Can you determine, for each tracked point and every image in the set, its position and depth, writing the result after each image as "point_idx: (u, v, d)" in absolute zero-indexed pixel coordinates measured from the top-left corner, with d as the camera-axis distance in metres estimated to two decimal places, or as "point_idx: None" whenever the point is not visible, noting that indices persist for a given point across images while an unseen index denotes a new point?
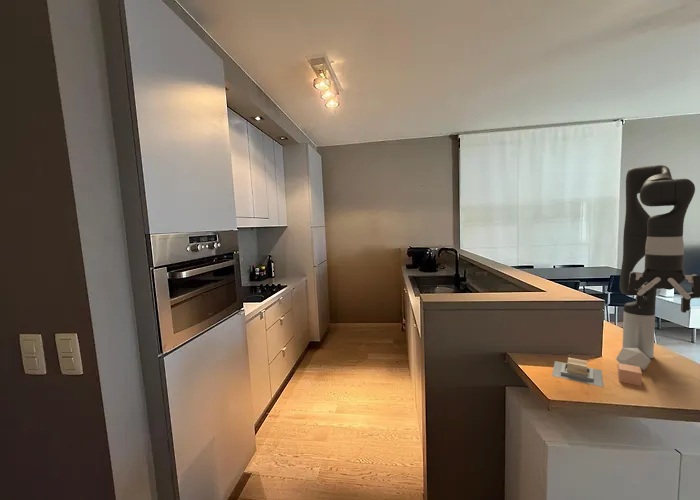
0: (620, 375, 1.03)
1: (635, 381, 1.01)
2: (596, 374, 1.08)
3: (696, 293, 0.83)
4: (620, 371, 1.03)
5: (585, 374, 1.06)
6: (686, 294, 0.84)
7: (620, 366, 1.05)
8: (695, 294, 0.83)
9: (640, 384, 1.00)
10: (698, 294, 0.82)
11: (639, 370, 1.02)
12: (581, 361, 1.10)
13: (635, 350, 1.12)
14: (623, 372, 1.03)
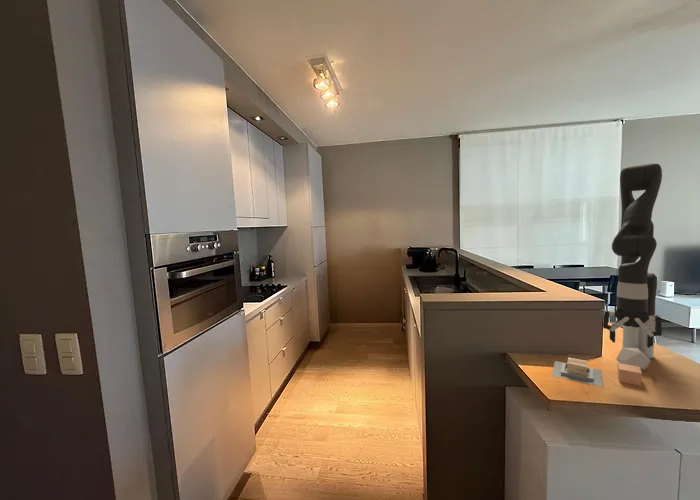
0: (620, 375, 1.03)
1: (635, 381, 1.01)
2: (596, 374, 1.08)
3: (658, 332, 0.98)
4: (620, 371, 1.03)
5: (585, 374, 1.06)
6: (650, 332, 0.99)
7: (620, 366, 1.05)
8: (657, 332, 0.98)
9: (640, 384, 1.00)
10: (659, 333, 0.98)
11: (639, 370, 1.02)
12: (581, 361, 1.10)
13: (635, 350, 1.12)
14: (623, 372, 1.03)
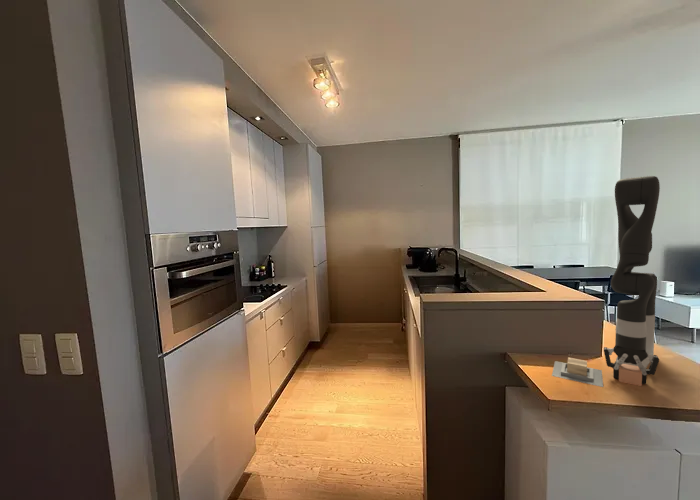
0: (620, 375, 1.03)
1: (635, 381, 1.01)
2: (596, 374, 1.08)
3: (651, 371, 0.99)
4: (620, 371, 1.03)
5: (585, 374, 1.06)
6: (643, 371, 1.01)
7: (620, 366, 1.05)
8: (650, 372, 1.00)
9: (640, 384, 1.00)
10: (653, 372, 0.99)
11: (639, 370, 1.02)
12: (581, 361, 1.10)
13: None
14: (623, 372, 1.02)
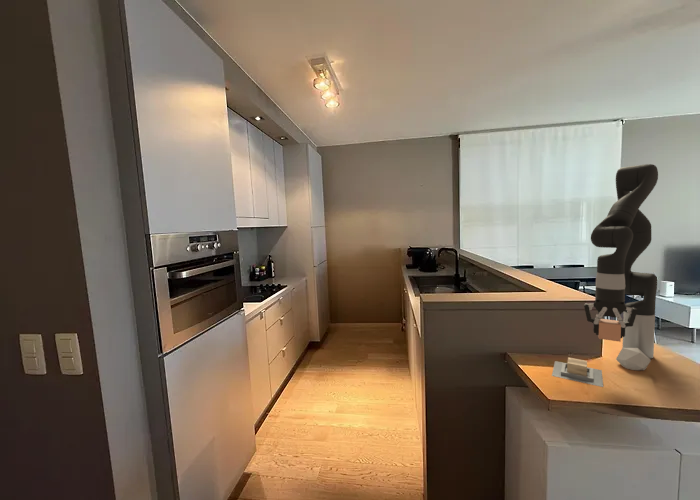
0: (600, 328, 1.04)
1: (615, 333, 1.02)
2: (596, 374, 1.08)
3: (629, 323, 1.01)
4: (600, 324, 1.04)
5: (585, 374, 1.06)
6: (622, 323, 1.02)
7: (600, 320, 1.06)
8: (628, 323, 1.01)
9: (619, 336, 1.01)
10: (631, 324, 1.00)
11: (618, 323, 1.03)
12: (581, 361, 1.10)
13: (635, 350, 1.12)
14: (603, 325, 1.03)
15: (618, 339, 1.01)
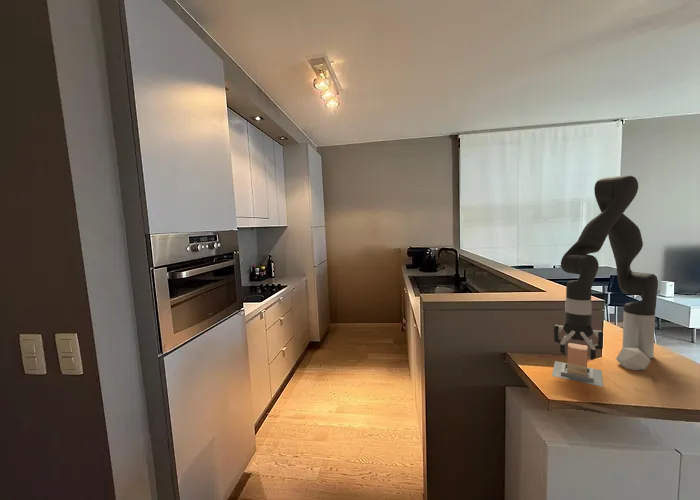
0: (568, 353, 1.09)
1: (582, 359, 1.07)
2: (596, 374, 1.08)
3: (599, 345, 1.05)
4: (568, 350, 1.09)
5: (585, 374, 1.06)
6: (592, 346, 1.06)
7: (569, 345, 1.11)
8: (598, 346, 1.05)
9: (586, 361, 1.06)
10: (601, 346, 1.04)
11: (586, 348, 1.07)
12: None
13: (635, 350, 1.12)
14: (571, 350, 1.08)
15: (585, 364, 1.06)
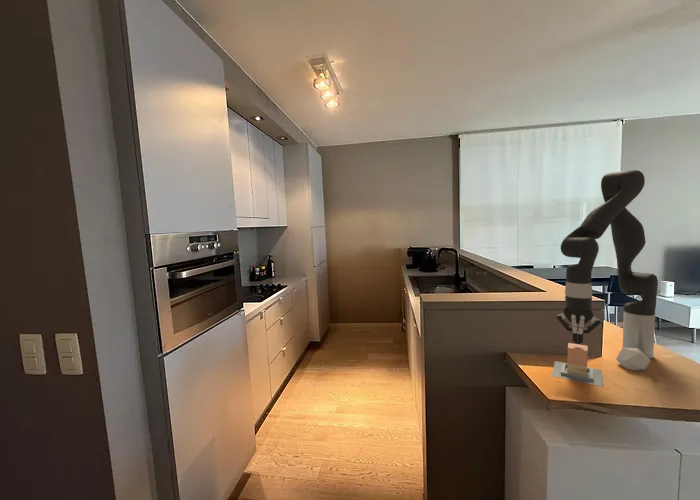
0: (568, 353, 1.09)
1: (582, 359, 1.07)
2: (596, 374, 1.08)
3: (586, 330, 1.06)
4: (568, 350, 1.09)
5: (585, 374, 1.06)
6: (579, 330, 1.08)
7: (569, 345, 1.11)
8: (585, 330, 1.07)
9: (586, 361, 1.06)
10: (588, 331, 1.06)
11: (586, 348, 1.07)
12: None
13: (635, 350, 1.12)
14: (571, 350, 1.08)
15: (585, 364, 1.06)
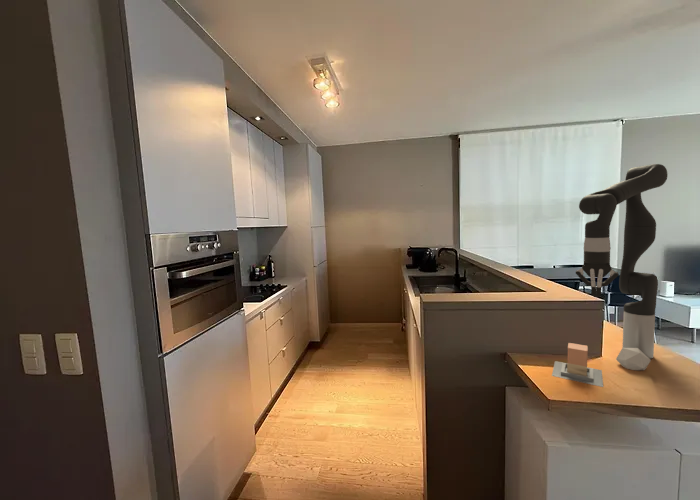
0: (568, 353, 1.09)
1: (582, 359, 1.07)
2: (596, 374, 1.08)
3: (604, 282, 1.12)
4: (568, 350, 1.09)
5: (585, 374, 1.06)
6: (598, 283, 1.13)
7: (569, 345, 1.11)
8: (604, 283, 1.12)
9: (586, 361, 1.06)
10: (606, 284, 1.11)
11: (586, 348, 1.07)
12: None
13: (635, 350, 1.12)
14: (571, 350, 1.08)
15: (585, 364, 1.06)
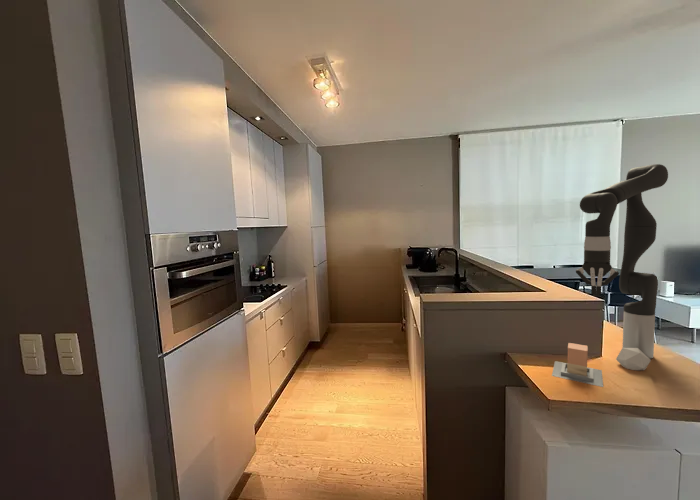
0: (568, 353, 1.09)
1: (582, 359, 1.07)
2: (596, 374, 1.08)
3: (604, 281, 1.12)
4: (568, 350, 1.09)
5: (585, 374, 1.06)
6: (598, 282, 1.13)
7: (569, 345, 1.11)
8: (604, 282, 1.12)
9: (586, 361, 1.06)
10: (606, 283, 1.11)
11: (586, 348, 1.07)
12: None
13: (635, 350, 1.12)
14: (571, 350, 1.08)
15: (585, 364, 1.06)
